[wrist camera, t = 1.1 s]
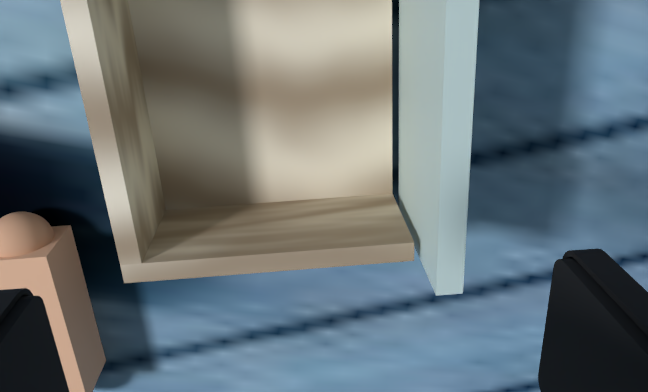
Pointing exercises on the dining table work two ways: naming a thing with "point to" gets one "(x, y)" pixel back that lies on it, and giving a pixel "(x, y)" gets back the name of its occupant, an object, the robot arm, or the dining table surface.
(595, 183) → the dining table surface
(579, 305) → the robot arm
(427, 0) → the tailgate
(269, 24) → the crate
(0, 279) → the dome-capped square column
